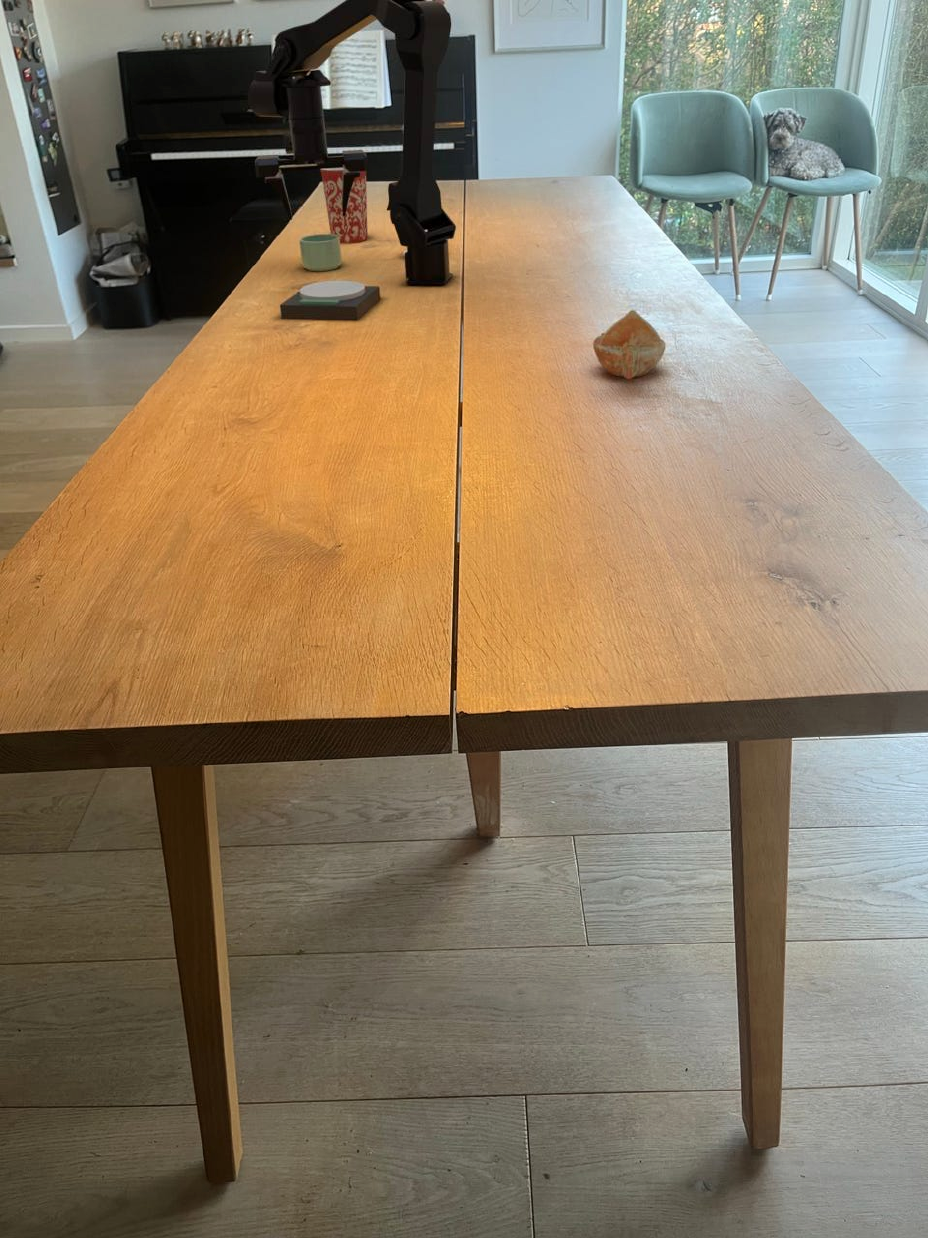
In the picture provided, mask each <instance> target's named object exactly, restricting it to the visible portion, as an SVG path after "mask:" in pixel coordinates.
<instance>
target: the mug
mask: <svg viewBox="0 0 928 1238" xmlns="http://www.w3.org/2000/svg"><path fill="white" fill-rule="evenodd" d="M342 170H343V168H327V169H319V171H320V174H321V180H322V187H323V193H324V194H323V195H324V198H325V207H326V212H327V220H328V225H329V234H333V235H337V236H339V237H340V244H351V243H359V242H363V241H366V240H367V239H368V237H369V235H368V234H369V231H368V229H369V228H368V204H367V203H368V202H367V199H368V197H367V196H368V195H367V193H368V192H367V171H360V173H361V177H356V178H355V179H354V182H353V185H352V188H351V191H350V195H349V200H348V205H347V210H346V215H345V216H343V212H342Z"/></svg>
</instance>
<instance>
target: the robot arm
mask: <svg viewBox="0 0 928 1238" xmlns="http://www.w3.org/2000/svg"><path fill="white" fill-rule="evenodd" d="M375 21H378V22H379V24H380V25H381V26H382V27H383V28H385V29H387V30H388V31H390V32H391V33H393V34H394V42H395V50H396V52H397V55H398V58H399V59H400V60H399V61H400V62H401V65H402V67H403V69H404V71H403V72H404V83H403V84H404V87H403V88H404V89H403V119H402V120H403V121H402V123H403V124H402V155H401V156H402V159H401V161H402V163H401V173H400V176H399V178H398V180H397V181H393V182H389V183H388V186H387V194H388V202H387V203H388V204H387V206H386V211H387V212H388V211H389V218H390V222H391V224H392V225H393V226H394V229H395V231H396V235H397V238H398V241H399V244H400V246H401V247H406V250H407V252H406V253H405V254H404V253H403V257H404V256H405V257H404V271H405V278H406V282H405V284H406V285H411V286H412V285H414V286H443V285H446V284H447V283H448V282H449V281H450V279H452V278H453V273H451V272H450V254H449V240H452V239H454V237H455V234H456V230H457V226H456V224H455V223H454V222H453V220H452V219H451V218H450V216H449V215H448V213H446V211H445V210H444V209H443V207H442V196H441V195H442V193H441V189H440V187H439V184H438V182H437V180H436V177H435V175H434V158H435V157H434V156H435V155H434V154H435V131H436V110H437V109H436V108H437V90H438V89H437V87H438V86H437V85H438V73H439V69H440V67H441V65H442V63H443V61H444V58H445V56H446V54H447V52H448V48H449V43H450V37H451V31H452V18H451V14H450V12H449V11H448V10H447V8H446V7H445V5H444V4H443V3H442V2H439V1H438V0H344V1H343V2H341V3H339V4H337V5H336V6H335V7H333V8H332V9H331V10H329V11H328V12H326V13H325V14H323V15H322V16H319V18H317V19H315V20H314V21H312V22H308V23H305V24H300V25H297V26H292V27H291V28H287V29H285V30H281V31H279V32H278V34H277V35H276V36H275V37H274V42H275V43H274V47H273V50H272V53H271V56H270V58H269V62H268V65H267V67H266V70H260V71H254V72H253V79H254V80H253V81H252V82H251V84H250V86H249V89H248V94H247V101H248V105H249V108H250V110H251V111H252V112H253V114H255V115H256V116H257V117H260V118H261V117H263V118H265V117H266V118H288V120H289V129H290V131H283V141H284V150H285V154H286V155H293V158H285V159H283V158H282V159H280V157H279V154H268V155H258V156H257V158H256V159H255V160H254V168H255V176H256V178H259V179H261V178H262V179H263V178H264V183H265V184H271V185H272V187H273V189H274V190H275V192H276V194H277V195H278V197H279V199H280V201H281V203H282V205H283V208H284V210H285V212H286V214H287V217H288V219H289V221H292V220H293V213H292V208H291V203H290V199H289V195H288V191H287V187H286V183H285V177H284V174H283V173H282V172H292V171H308V170H320V169H327V168H343V170H342V212H343V216H345V215H346V210H347V205H348V200H349V195H350V191H351V188H352V185H353V182H354V179H355V178H356V177H361V173H360V171H366V172H367V171H369V166H368V156H367V153H366V152H365V151H364V150H363V149H351V150H350V149H349V150H342V155H333V156H332V155H331V156H329V151H328V144H327V143H328V142H327V136H326V135H327V134H326V126H325V117H324V116H325V115H324V105H323V97H322V96H323V95H322V88H323V87H330V86H331V85H332V82H331V80H330V79H329V78H328V77H327V76H325V75H324V73H323V72H322V71H321V69H319V68H320V67H321V66H322V65H324V63H325V62H326V61H327V60H328V59H329V58H330V57H331V55H332V52H333V50H334V49H335V48H336V47H337V46H338V45H339V44H340V43H343V42H344V41H346V40H347V39H348V38H350V37H352V36H353V35H355V34H356V33H358V32H360V31H361V30H363V29H365V28H367V27H368V26H369V25H371V24H372V23H374V22H375ZM300 162H305V163H300ZM425 230H427V232H425Z"/></svg>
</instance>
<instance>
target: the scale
mask: <svg viewBox="0 0 928 1238" xmlns="http://www.w3.org/2000/svg"><path fill="white" fill-rule="evenodd" d="M380 300H381V289H380V286H378V285H377V286H375V285H365V284H364V283H362V282H359V281H352V280H328V281H327V280H326V281H319V282H314V283H309V284H307V285H305V286H303V287H301V288H300V289H299V291H297V292H296V293H294V294H293V295H291V296H290V297H288V298H287V299H286V300H285V301H283V302H282V303H280V304H279V309H280V316H281V319H298V320H299V319H300V320H301V319H302V320H338V321H339V320H343V321H344V320H345V321H358V320H359V319H360V318H361V317H362V316H364V315H365V314H366V313H367V312H369V310H370V309H371V308H373V306H375V304H377V303H378V302H379V301H380Z"/></svg>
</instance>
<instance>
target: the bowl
mask: <svg viewBox="0 0 928 1238" xmlns="http://www.w3.org/2000/svg"><path fill="white" fill-rule="evenodd" d="M298 241H299V248H300V256H301V265H302V268H305V269H306V270H307V271H311V272H326V271H332V270H337V269H338V268H339V267H340V266H341V265H343V258H342V249H341V243H340V237H339V236H337V235H333V234H331V233H318V234H309V235H305V236H302V237H300V238H299V240H298Z"/></svg>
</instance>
